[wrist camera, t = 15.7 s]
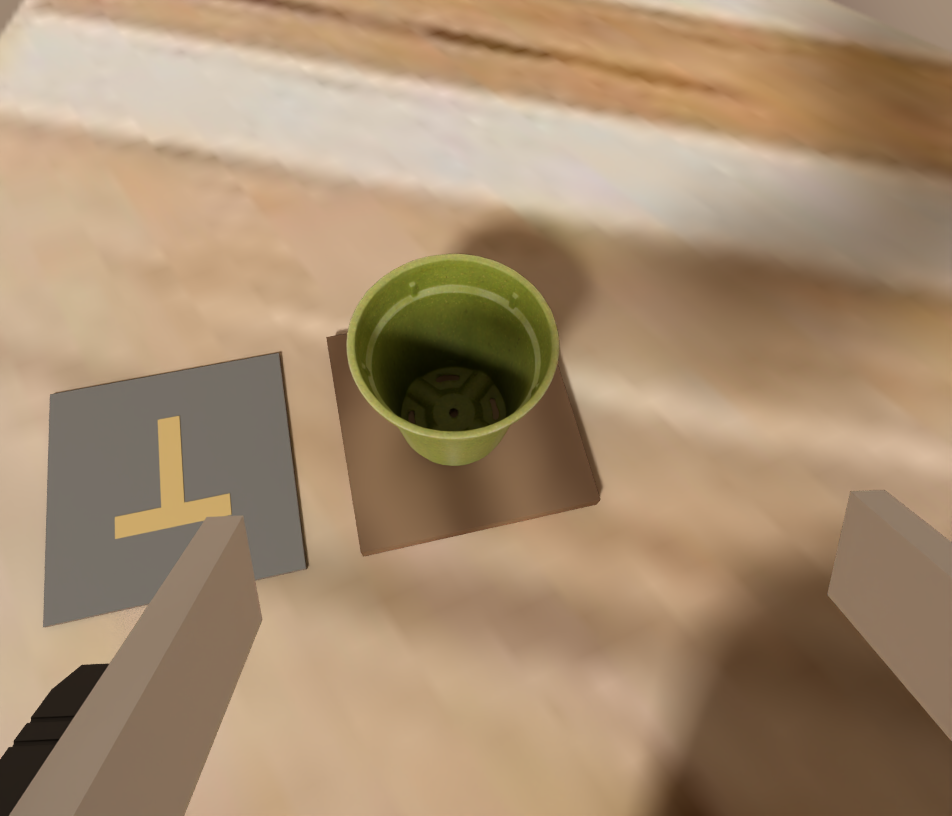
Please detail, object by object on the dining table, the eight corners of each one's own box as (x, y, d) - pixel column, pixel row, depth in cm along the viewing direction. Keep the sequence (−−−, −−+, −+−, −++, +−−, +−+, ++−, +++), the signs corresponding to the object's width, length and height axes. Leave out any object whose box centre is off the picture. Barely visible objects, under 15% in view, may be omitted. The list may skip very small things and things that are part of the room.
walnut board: (535, 307, 40) (537, 299, 40) (596, 504, 36) (600, 499, 35) (329, 345, 39) (326, 337, 38) (363, 556, 34) (361, 552, 33)
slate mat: (279, 354, 39) (278, 352, 38) (306, 569, 34) (305, 568, 33) (51, 396, 37) (49, 394, 37) (45, 627, 32) (42, 627, 32)
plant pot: (359, 356, 38) (333, 268, 30) (515, 330, 39) (531, 238, 31) (383, 510, 34) (362, 457, 26) (554, 476, 35) (584, 415, 27)
